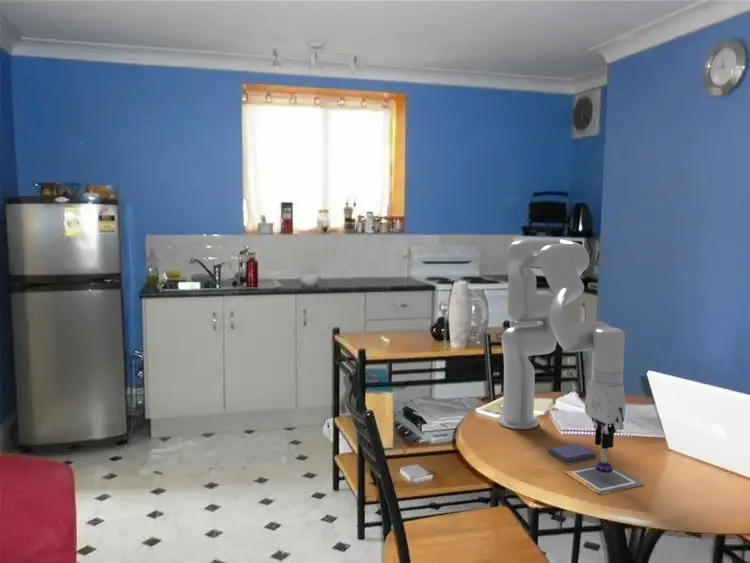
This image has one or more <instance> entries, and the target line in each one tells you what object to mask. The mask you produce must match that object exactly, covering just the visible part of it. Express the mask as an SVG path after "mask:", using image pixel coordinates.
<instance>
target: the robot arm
mask: <svg viewBox="0 0 750 563" xmlns="http://www.w3.org/2000/svg"><path fill="white" fill-rule="evenodd" d="M590 261H591V260H590V255H589V252H588V250H587V249H586V247H585V246H583V244H581V243H578V242H575V241H569V240H565V239H562V238H559V239H558V238H539V239H538V238H533V239H531V238H529V239H520V240H516V241H513V242H512V243H510V244H509V245H508V246H507V248H506V252H505V267H506V272H507V275H508V278H507V279H508V282H507V283H508V284H507V291H508V292H507V315H508V318H509V320H511V321H512V322H515V323H534V322H537V324H531V325H516V326H512V327H509V328H507V329H505V330H504V331H503V332H502V335H501V347H502V354H503V355H502V356H503V367H504V368H503V405H500V406H499V409H500V410H501V411H502V414H501V415H499V416H498V419H497V422H498V424H499V425H501V426H502V427H505V428H509V429H512V430H530V429H534V428H536V427H538V425H539V419H538V418H537V417H535V416H534V415H535V412H534V411H535V410H534V407H535V406H534V405H535V380H536V379H535V377H536V376H535V374H536V372H535V367H534V365H533V364H532V362H531V360H529V359H530V358H529V357H532V356H540V355H548V354H551V353H553V352H554V351H555V349H556V346H557V343H558V345H559V346H560V347H561V349H563V350H564V351H566V352H569V353H573V352H575V353H576V352H585V351H591V352H592V353H591V354H592V355H591V370H590V372H591V374H590V376H591V377H589V380H588V381H587V385H586V386H587V387H586V393H585V401H584V412H585V414H586V415H587V416H588V417H589V418H590V419H591V421H592V423H593V428H594V430H595V433H594V434H595V436H594V444H595V445H596V446H600V445H601V440H602V448H603V449H606V448H608V449H611V448H613V447H614V439H615V438H614V434H616V433H617V431H621V430H624V429H625V426H624V421H625V419H626V418H625V417H626V398H625V395H626V394H625V388H624V382H623V381H624V359H625V357H624V356H625V344H626V343H625V341H626V338H625V337H626V336H625V332H624V331H623V330H622V329H621V328H618V327H612V326H611V325H610V324H607V322H604V321H600V320H597V321H596V320H592V321H581V322H580V321H577V322H570V320H569V317H568V315H567V313H566V310H565V309H566V308H565V306H566V305H568V304H569V303H571V302H573V301H575V300H576V299H578V298H579V297H580V296H581V295H582V294H583V292H584V291H585V285H584V283H583V280H582V279H581V277H580V275H579V273H582V272H585V271H586V270H587V269H588V267H589V265H590ZM532 268H540V269H541V272H542V273H543V275H544V278H545V279H546V283H547V284H548V286H549V289H550V291H545V290H538V291H537V277H536V274H535V273H534V271H533V269H532ZM595 419H596V420H598V421H600V422H602V423H604V424H606V425H605V426H604V433H602V439H601V429H602V428H601V425H599V424H597V423H596V422H595ZM612 424H613V425H612Z"/></svg>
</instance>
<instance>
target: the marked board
mask: <svg viewBox="0 0 750 563" xmlns="http://www.w3.org/2000/svg"><path fill="white" fill-rule="evenodd" d="M595 467H596V464H594V465H588V466H583V467H577V468H573V469H572V470H573V471H572V472H570V473H572V474H573V475H575V476H577V477H578V478H580V479H582V480H583V481H585V482H586V483H587V485H589V486H591V488H593V487H594V488H596V490H595V491H597V490H599V491H598V493H599V492H600V493H599V494H602V495H604V494H603V493H607V492H612V493H614V492H613V491H616V492H619V491H618V490H621V491H624V490H623V489H626V490H630V489H633V488H639V487H644V486H645V484H644V483H643V482H640V480H637V479H635V478H633V477H631V475H628V474H626V473H625V472H622V470H619V469H617V468H616V467H613V466H612V468H613V471H612V472H609V473H603V472H599V471H597V470H596V469H595ZM578 472H579V473H578ZM587 485H586V486H587ZM586 486H585V487H586ZM594 488H593V489H594ZM629 488H630V489H629ZM607 494H608V493H607Z"/></svg>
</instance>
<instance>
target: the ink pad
mask: <svg viewBox="0 0 750 563" xmlns="http://www.w3.org/2000/svg"><path fill="white" fill-rule="evenodd" d="M548 453H549V455H550V454H551V455H550V456H551V457H553V456H554V457H553V458H555V457H556V458H555V459H557V460H558V459H559V460H558V461H560V460H561V461H560V462H561V463H563V462H564V463H563V464H565V463H566V464H565V465H568V464H567V463H570V464H574V463H573V462H575V463H579V462H586V461H590V460H595V459H596V457H597V456H596V455H597V454H596V453H594V452H592V451H590V450H589V449H587V448H585V447H583V446H581V445H579V444H578V443H577V444H572V445H565V446H559V447H554V448H553V447H552V448H548V449H547V454H548Z"/></svg>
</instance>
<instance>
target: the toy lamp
mask: <svg viewBox="0 0 750 563" xmlns="http://www.w3.org/2000/svg"><path fill="white" fill-rule="evenodd" d="M595 422H596V423H597V424H599V425H601V428H602V429H601V439H602V433H604V426H605V425H606V424H604V423H602V422H600V421H598V420H596V419H595ZM612 425H613V424H612ZM608 451H609V448H606V449H603V448H602V440H601V446H600V461H598V462H597V463H596V464H595V465H596V467H595V469H596V470H597V471H599V472H603V473H609V472H612V471H613V468H612V467H613V465H612V464H611V463H609V462H608V461H609V459H608V455H609V453H608Z"/></svg>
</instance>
